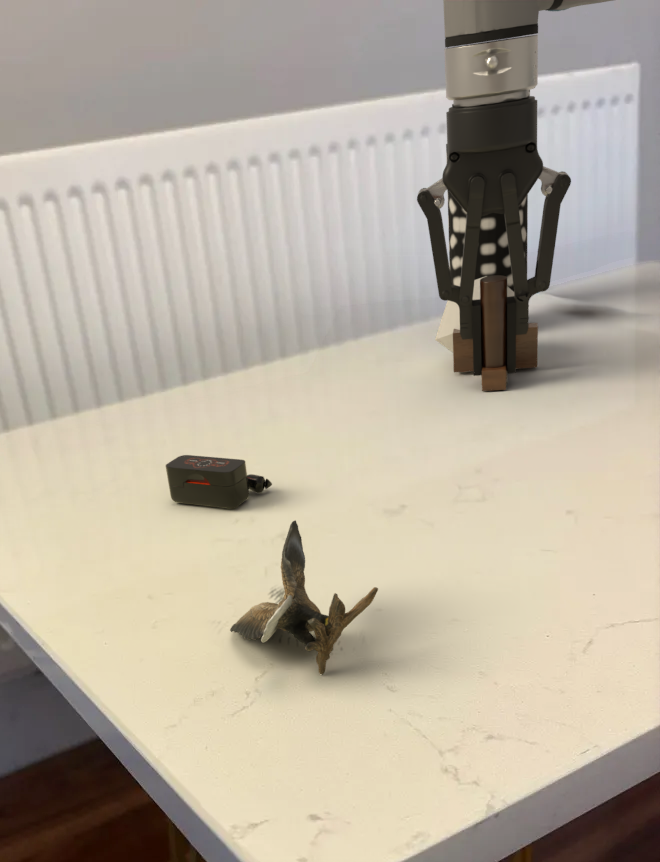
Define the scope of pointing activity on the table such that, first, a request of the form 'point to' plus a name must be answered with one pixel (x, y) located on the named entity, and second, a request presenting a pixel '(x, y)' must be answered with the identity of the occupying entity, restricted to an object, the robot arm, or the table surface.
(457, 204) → the spotted tube
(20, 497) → the table surface
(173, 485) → the wireless earbuds
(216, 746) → the table surface
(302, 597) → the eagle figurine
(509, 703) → the table surface
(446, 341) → the die
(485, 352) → the wooden block stack
